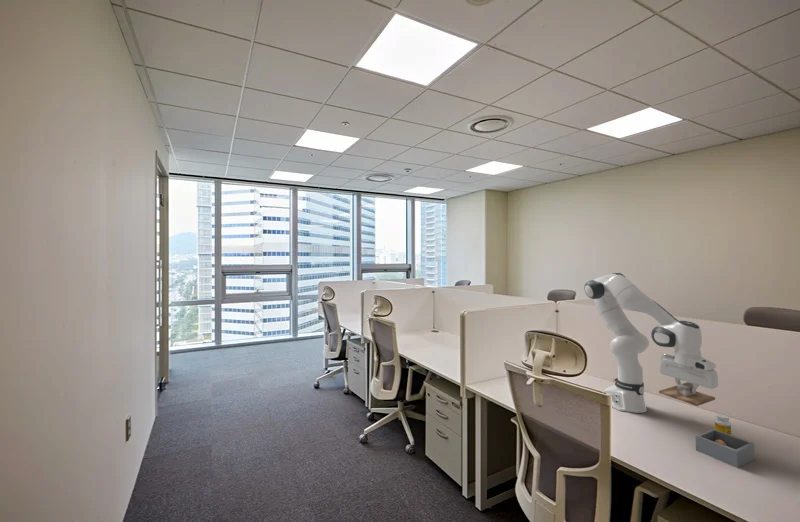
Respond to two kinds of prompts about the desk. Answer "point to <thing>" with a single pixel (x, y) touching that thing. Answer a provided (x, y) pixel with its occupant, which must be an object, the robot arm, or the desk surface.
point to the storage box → (725, 448)
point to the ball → (720, 442)
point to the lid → (687, 394)
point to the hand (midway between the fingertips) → (686, 391)
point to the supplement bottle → (723, 424)
